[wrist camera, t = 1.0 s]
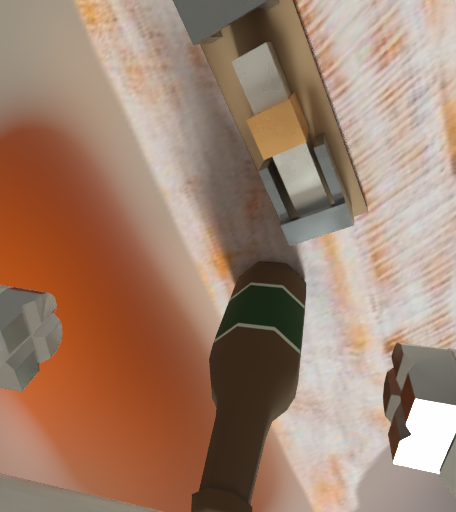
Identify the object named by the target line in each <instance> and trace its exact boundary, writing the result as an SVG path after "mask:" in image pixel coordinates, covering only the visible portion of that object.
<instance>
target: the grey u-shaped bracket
mask: <svg viewBox="0 0 456 512" xmlns="http://www.w3.org/2000/svg"><path fill="white" fill-rule="evenodd" d="M314 151H315V154H316V156H317V159H318V161H319V164H320V166H321V169H322V171H323V174H324V177H325V179H326V182H327V184H328V187H329V189H330V192H331V195H332V197H333V200H334V202H335V203H334V204H332V205H329V206H326V207H323V208H320V209H317V210H315V211H312V212H309V213H306V214H303V215H300V216H298V215H297V212H296V210H295V208H294V205H293V203H292V201H291V198H290V196H289V194H288V192H287V189H286V187H285V185H284V182H283V180H282V178H281V175H280V173H279V171H278V168H277V166H276V164H275V162H274V159H273V157H270V158H268V159H266V160H264V161H263V163H262V165H261V167H260V169H259V171H258V173H259V175H260V177H261V179H262V181H263V184H264V186H265V188H266V190H267V192H268V195H269V197H270V199H271V201H272V203H273V206H274V208H275V210H276V212H277V215H278V217H279V219H280V221H281V224H280V227H281V229H282V231H283V233H284V235H285V238H286V240H287V242H288V244H289V246H292V245H295V244H298V243H301V242H304V241H307V240H310V239H313V238H316V237H319V236H322V235H326V234H329V233H332V232H335V231H338V230H341V229H344V228H347V227H350V226H353V225H354V217H353V209H352V205H351V202H350V199H349V196H348V194H347V191H346V188H345V186H344V183H343V180H342V178H341V175H340V172H339V170H338V167H337V164H336V162H335V159H334V156H333V154H332V151H331V148H330V146H329V143H328V140H327V138H326V135H325V132H324V133H322V134H320V135H318V136H315V142H314Z"/></svg>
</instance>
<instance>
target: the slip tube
mask: <svg viewBox="0 0 456 512" xmlns="http://www.w3.org/2000/svg"><path fill="white" fill-rule="evenodd" d="M232 65H233V67H234V69H235V72H236V74H237V76H238V79H239V81H240V83H241V85H242V88H243V90H244V92H245V95H246V97H247V99H248V102H249V104H250V106H251V109H252V111H253V114H252V115H251V116H250V117H249V118H248V119H247V120H246V121H247V123H248V126H249V128H250V130H251V132H252V135H253V137H254V139H255V141H256V144H257V146H258V148H259V150H260V153H261V155H262V157H263V159H264V160H266V159H268V158H270V157H273V159H274V162H275V164H276V166H277V168H278V171H279V173H280V175H281V178H282V180H283V182H284V185H285V187H286V189H287V192H288V194H289V196H290V198H291V201H292V203H293V205H294V208H295V210H296V212H297V215H298V216H300V215H303V214H306V213H309V212H312V211H315V210H317V209H320V208H323V207H326V206H329V205H332V204H334V201H333V198H332V196H331V193H330V191H329V188H328V186H327V183H326V180H325V178H324V175H323V173H322V170H321V168H320V165H319V163H318V160H317V157H316V155H315V152H314V150H313V147H312V145H311V142H310V140H309V137H308V133H309V127H308V124H307V121H306V119H305V116H304V114H303V111H302V108H301V106H300V103H299V101H298V98H297V96H296V93H295V91H294V92H292V93H291V91H290V88H289V86H288V83H287V81H286V78H285V75H284V73H283V70H282V68H281V65H280V63H279V60H278V58H277V55H276V52H275V50H274V47H273V45H272V42H266V43H264V44H262V45H260V46H259V47H257V48H255V49H253V50H252V51H250V52H248V53H246V54H244V55H243V56H241V57H239V58H237V59H235V60H234V61H232Z"/></svg>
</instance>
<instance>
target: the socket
mask: <svg viewBox="0 0 456 512" xmlns="http://www.w3.org/2000/svg"><path fill="white" fill-rule="evenodd" d="M173 2H174V4H175V6H176V8H177V10H178V12H179V15H180V17H181V19H182V21H183V23H184V25H185V28H186V30H187V32H188V34H189V36H190V38H191V41H192V43H193V45H199V44H211V43H213V42H215V41H217V40H218V39H220V38H222V37H223V36H222V34H221V32H220V30H222V29H223V28H225V27H227V26H228V25H230V24H232V23H233V22H235V21H237V20H238V19H240V18H242V17H243V16H245V15H247V14H248V13H250V12H252V11H253V10H255V9H257V8H261V9H264V10H266V11H268V10H269V9H271V8H273V7H274V6H276V5H278V4H279V1H278V0H173Z"/></svg>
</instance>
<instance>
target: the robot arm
mask: <svg viewBox="0 0 456 512" xmlns="http://www.w3.org/2000/svg"><path fill="white" fill-rule="evenodd" d="M56 308H57V306H56V302H55V299H54V296H53V295H51V294H49V293H46V292H40V291H34V290H28V289H22V288H16V287H8V286H3V285H0V388H3V389H10V390H16V391H23V390H24V388H25V387H26V386H27V385H28V384H29V383H30V381H31V380H32V379H33V378H34V376H36V374H37V373H38V372H39V371H40V363H41V362H43V361H45V360H47V359H49V358H51V357H52V356H53V354H54V353H55V352H56V351H57V349H58V347H59V345H60V342H61V339H62V326H61V321H60V320H59V319H58V318H57V317H56V316H55V315H54V314H53V313H54V311H55V310H56ZM392 361H393V366H394V368H392V369H391V370H389V371H388V372H387V374H386V379H385V383H384V392H383V404H384V412H385V416H386V417H387V418H388V420H389V421H390V422H391V426H390V429H389V433H388V436H389V442H390V447H391V453H392V459H393V463H395V464H399V465H404V466H408V467H413V468H417V469H422V470H426V471H431V472H435V473H439V477H440V478H441V479H442V481H443V482H444V483H445V485H446V486H447V487H448V488H449V490H450V491H451V492H452V494H453V495H454V496H455V498H456V350H455V349H442V348H435V347H427V346H420V345H413V344H405V343H398V342H397V344H396V345H395V347H394V350H393V353H392ZM0 512H162V511H158V510H154V509H149V508H145V507H141V506H137V505H132V504H128V503H124V502H119V501H116V500H111V499H107V498H103V497H99V496H94V495H90V494H86V493H81V492H77V491H73V490H69V489H64V488H60V487H56V486H51V485H48V484H44V483H39V482H35V481H31V480H27V479H22V478H18V477H14V476H10V475H6V474H1V473H0Z"/></svg>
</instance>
